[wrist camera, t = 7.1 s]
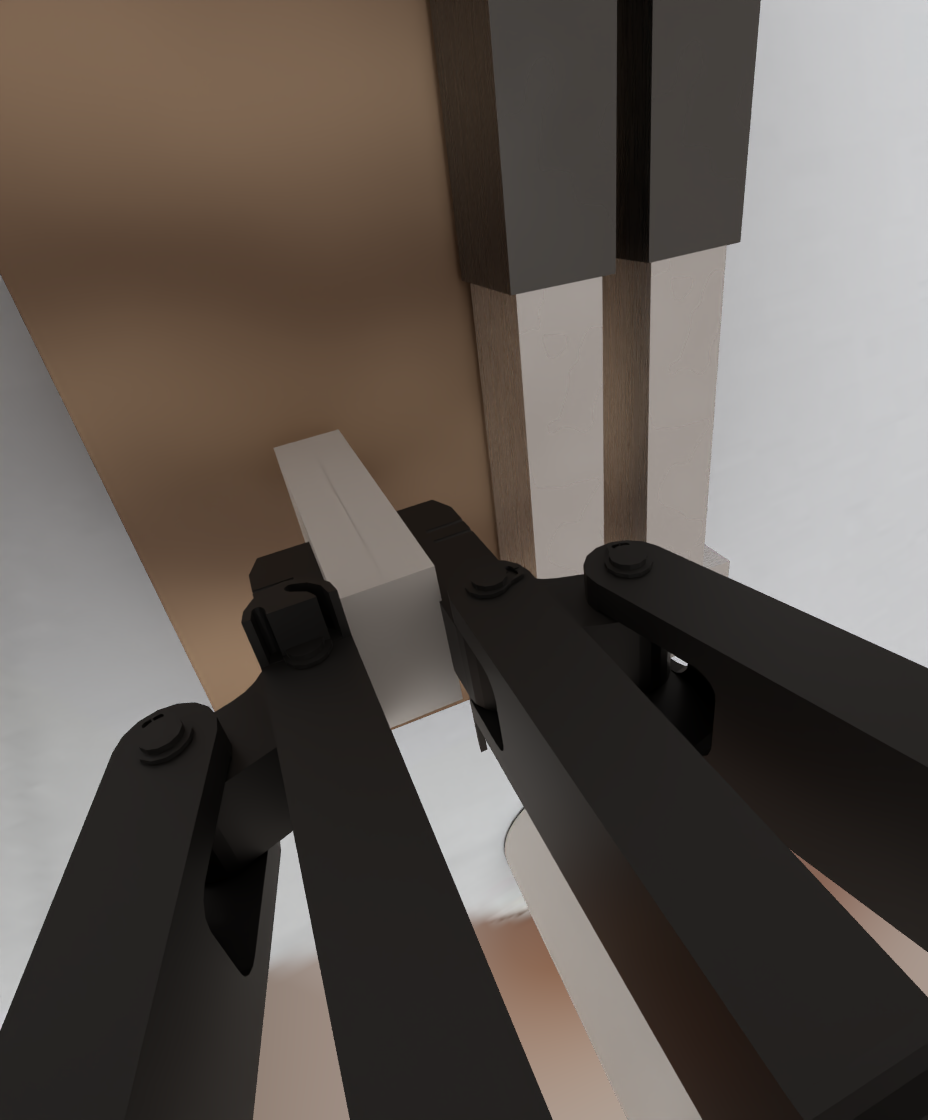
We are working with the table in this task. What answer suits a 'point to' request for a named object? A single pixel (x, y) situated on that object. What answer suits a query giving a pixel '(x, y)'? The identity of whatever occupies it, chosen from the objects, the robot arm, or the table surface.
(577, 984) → the mug
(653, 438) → the grey white bar
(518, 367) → the arm
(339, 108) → the walnut board
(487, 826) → the table surface
